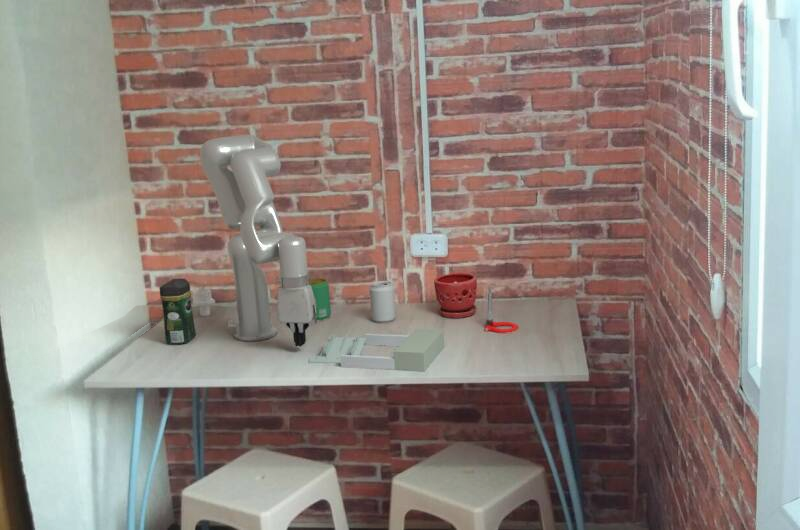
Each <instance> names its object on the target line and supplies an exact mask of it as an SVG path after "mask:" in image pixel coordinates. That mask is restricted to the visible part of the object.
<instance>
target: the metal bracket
mask: <svg viewBox="0 0 800 530" xmlns="http://www.w3.org/2000/svg"><path fill="white" fill-rule="evenodd" d="M365 340H366V338H365V337H360V335H359V334H358V335H356V336H355V337H349V334H348V333H346V335H345V336H344V337H335V334H330V336H329V337H328V338H327V340H326V342H325V344H324V345H323V347H322V349H321V352H320V354H319V355H318V356H313V355H312V356H311V357H310V359H309V362H308V363H309V364H317V363H318V364H319V363H321V364H328V363H336V365H337V364H338V363H340V364H338V365H341V357H340V356H341V355H358V356H360V354H361V352H362V351H363V348H364V345H365ZM319 365H320V364H319Z"/></svg>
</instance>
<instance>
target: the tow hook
mask: <svg viewBox="0 0 800 530" xmlns="http://www.w3.org/2000/svg"><path fill="white" fill-rule="evenodd" d="M493 317H494V316H493V292H492V285H489V286H488V293H487V311H486V320H485V321H486V322H485V323H486V324H485V327H484V331H485V332H489V331H491V332H493V333H494V332H495V333H501V334H508V333H507V332H511V333H513V332H512V331H515V330H517V329H518V330H519V325H518V324H516V323H515V322H514V323H513V322H510V321H494V319H493ZM507 325H508V326H507ZM500 326H507V327H510V326H512V327H511V328H498V327H500ZM518 330H517V331H518ZM515 332H516V331H515Z"/></svg>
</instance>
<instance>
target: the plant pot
mask: <svg viewBox="0 0 800 530" xmlns="http://www.w3.org/2000/svg"><path fill="white" fill-rule="evenodd" d="M433 284H434V291H435V297H436V300H437V303H438V304H439V306H440V308H439V313H440V314H441V316H444V317H446V318H452V319H460V318H465V317H469V316H472V315H474V314H475V313H476V312H477V310H478V308H477V305H476V304H475V303H476V299H477V291H478V290H477V288H478V280H477V275H474V274H473V273H469V272H454V273H447V274H442V275H439V276H437V277H435V278H434V282H433Z"/></svg>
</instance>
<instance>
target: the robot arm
mask: <svg viewBox="0 0 800 530" xmlns="http://www.w3.org/2000/svg"><path fill="white" fill-rule="evenodd" d="M199 159H200V160H199V161H200V165H201V168H202V171H203V172H204V175H205V177H206V178H207V180H208V181H209V183H210V185H211V187H212V189H213V191H214V194H215V198H216V200H217V201H216V202H217V204H218V207H219V210H220V214H221V217H222V219H223V222H224V225H225V226H226V227H227V228H228V229H230V230H239V231H240V232H238V233H236V234H234V235H232V236H231V237H230V238H229V240H228V242H227V252H228V256H229V259H230V263H231V267H232V272H233V281H234V289H235V291H234V292H235V301H236V309H237V317H238V319H237V320H231V319H230V320H228V322H227V328H228V329H235V331H234V338H235V339H236V340H238V341H243V342H253V341H263V340H267V339H271V338H272V337H274V336H276V335H277V332H278V329H277V328H276V327H275V326H272V321H271V311H270V298H269V286H268V278H267V275H266V273H265V271H264V270H263V269H262V268H261V267H260V265H263V264H268V263H273V262H277V261H279V263H278V265H279V273H280V275H279V276H277V277H276V282H277V283H280V286H279V287H278V291H277V300H276V301H277V302H276V303H277V318H278V319H277V320H278V321H279V323H280V325H283V326H285V327H286V326H287V328H288V329H290V331H291V333H292V336H293V343H294V346H295V347H303V345H305V343H306V341H307V337H306V336H307V335H306V331H307V329H308V328H309V327H314V326H316V325H317V324H318V321H316V305H315V299H314V294H313V291H312V287H311V285H309V281H308V280H309V273H308V270H309V269H308V260H307V259H308V258H307V247H306V246H307V245H306V241H305V239H304V237H301V236H297V235H294V234H292V233H290V232H287V231H284V230H283V227H282V224H281V222H280V219H279V216H278V215H279V214H278V212H277V210H276V206H275V203H274V202H273V201H274V199H275V196H274V192H273V190H272V187H271V185H270V181H269V179H268V177H272V176H277V175H278V174H279V172H280V171H281V166H282V163H281V159H280V156H279V154H278V153H277V151H276V150H275V149H274V147H272V146H271V145H270V144H268V143H267V142H265V141H264V140H262V139H261V138H259V137H258V136H256V135H254V134H242V135H241V134H240V135H232V136H222V137H221V136H220V137H217V138H216V137H215V138H212V139H209V140H207V141H205V142H204V143H203V144H202V145H201V148H200V153H199ZM229 166H230V167H231V169H229V168H228V167H229ZM255 227H258V228H259V229H256V228H255Z"/></svg>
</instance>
